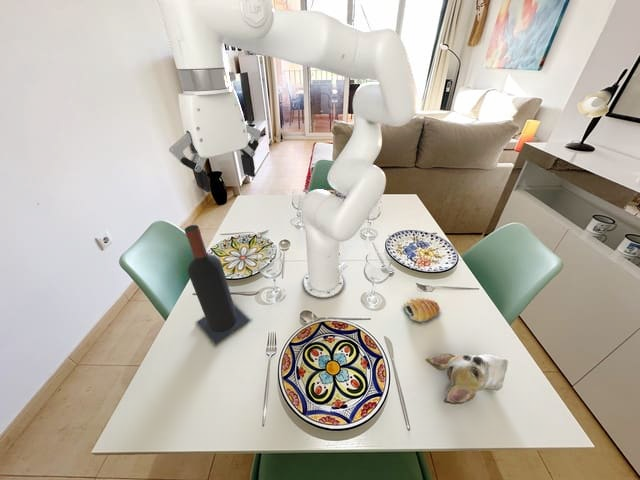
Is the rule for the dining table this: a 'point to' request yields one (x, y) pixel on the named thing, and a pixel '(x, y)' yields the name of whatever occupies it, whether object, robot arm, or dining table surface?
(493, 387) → the ceramic sculpture
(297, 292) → the dining table surface
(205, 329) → the mat
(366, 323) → the dining table surface
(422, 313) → the pastry
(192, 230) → the wine bottle
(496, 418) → the dining table surface
